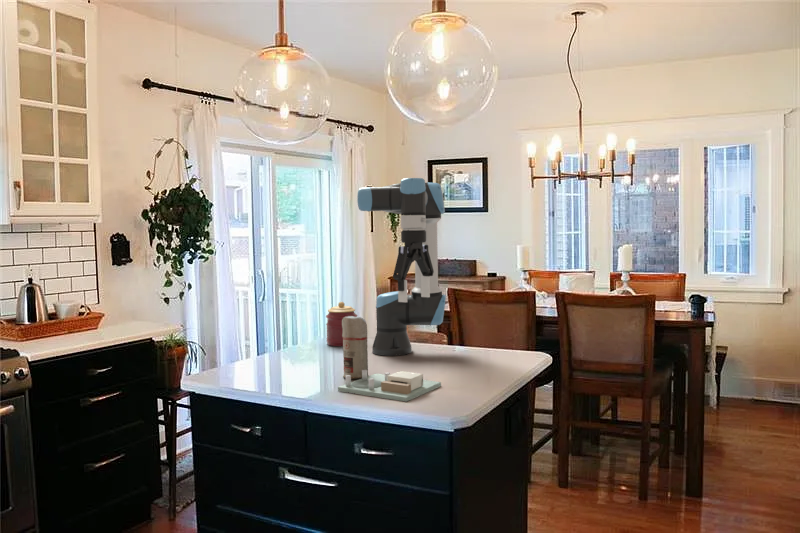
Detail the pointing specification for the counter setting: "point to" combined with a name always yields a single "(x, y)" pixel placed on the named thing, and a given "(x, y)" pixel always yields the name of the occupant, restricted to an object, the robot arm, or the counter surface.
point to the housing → (407, 378)
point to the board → (390, 394)
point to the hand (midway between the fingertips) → (414, 299)
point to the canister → (337, 323)
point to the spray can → (354, 346)
